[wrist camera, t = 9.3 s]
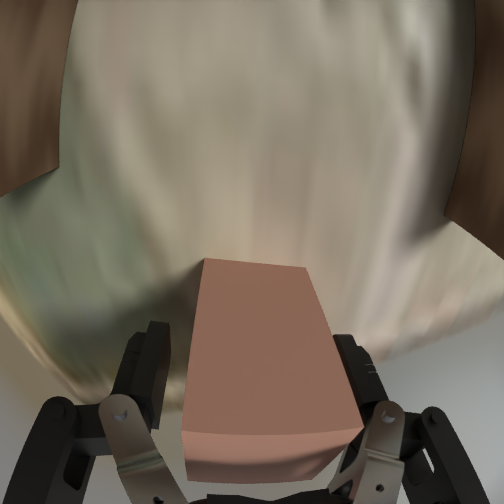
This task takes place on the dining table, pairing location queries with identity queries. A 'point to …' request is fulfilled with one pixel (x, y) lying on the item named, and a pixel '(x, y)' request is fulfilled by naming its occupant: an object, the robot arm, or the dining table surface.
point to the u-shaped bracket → (50, 86)
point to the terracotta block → (263, 379)
